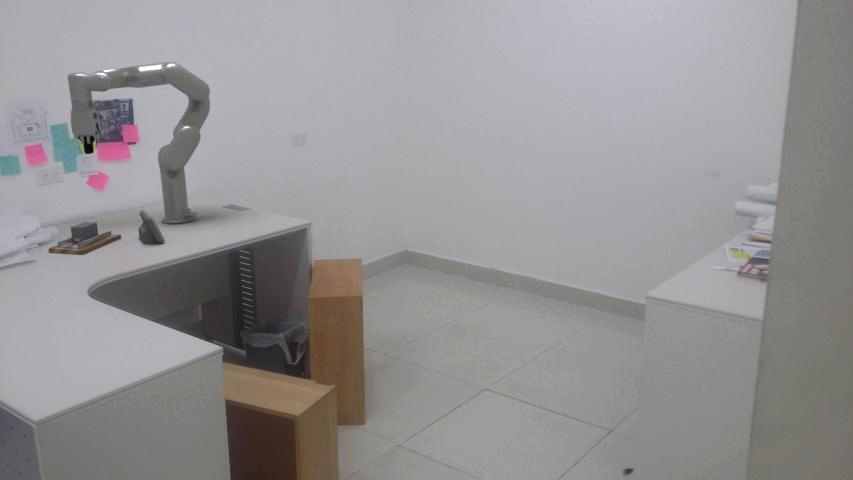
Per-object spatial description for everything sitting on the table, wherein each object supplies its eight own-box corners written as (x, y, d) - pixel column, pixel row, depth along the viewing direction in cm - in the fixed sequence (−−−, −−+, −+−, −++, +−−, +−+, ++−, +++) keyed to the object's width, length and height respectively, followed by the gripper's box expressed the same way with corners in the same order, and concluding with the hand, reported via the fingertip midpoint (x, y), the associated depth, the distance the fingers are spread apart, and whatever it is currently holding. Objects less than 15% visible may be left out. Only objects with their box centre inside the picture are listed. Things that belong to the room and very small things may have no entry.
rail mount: (121, 238, 280) (120, 229, 279) (83, 254, 259) (82, 245, 258) (88, 236, 283) (87, 228, 282) (49, 252, 262) (47, 243, 261)
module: (98, 238, 274) (96, 222, 272) (83, 244, 265) (81, 228, 264) (87, 237, 275) (84, 221, 273) (71, 243, 266) (69, 227, 265)
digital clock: (165, 244, 271) (162, 216, 268) (139, 246, 268) (135, 218, 265) (164, 233, 286) (161, 207, 283) (139, 236, 283) (136, 209, 280)
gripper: (106, 104, 283) (112, 152, 288) (71, 104, 285) (78, 151, 290) (94, 106, 276) (100, 155, 281) (58, 106, 278) (66, 154, 283)
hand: (89, 153), depth 285 cm, fingers closed
